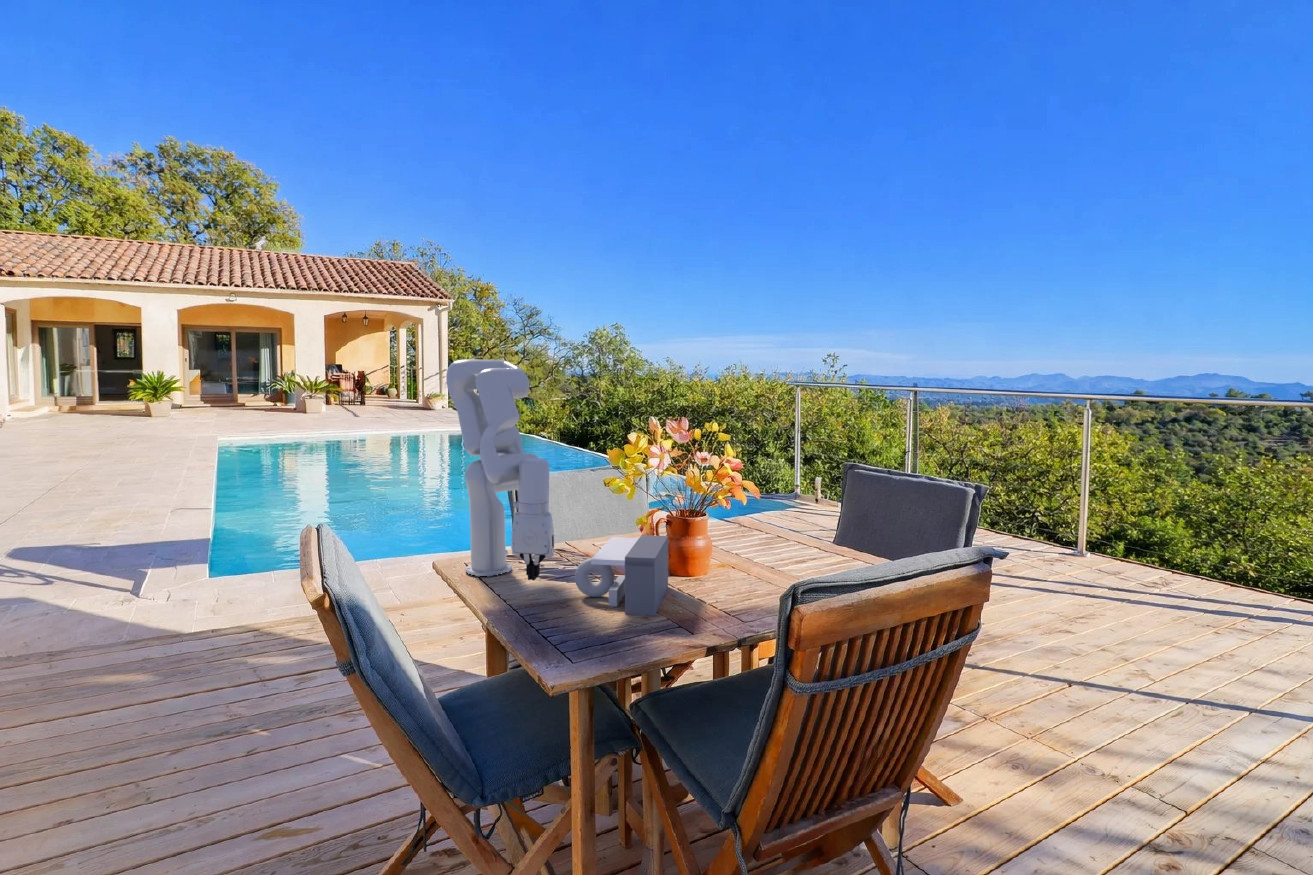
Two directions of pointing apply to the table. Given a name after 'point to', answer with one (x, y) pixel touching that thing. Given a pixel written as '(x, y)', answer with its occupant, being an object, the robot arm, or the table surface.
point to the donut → (589, 587)
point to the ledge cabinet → (637, 572)
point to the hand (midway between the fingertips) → (532, 578)
